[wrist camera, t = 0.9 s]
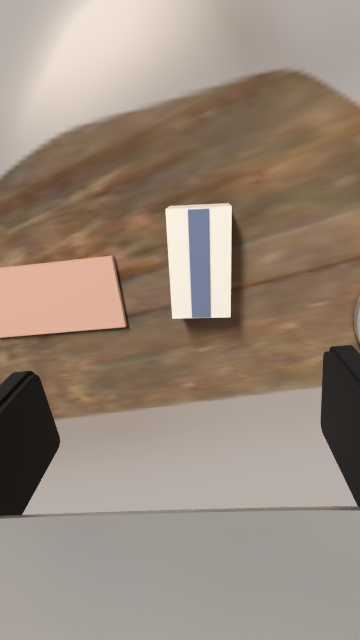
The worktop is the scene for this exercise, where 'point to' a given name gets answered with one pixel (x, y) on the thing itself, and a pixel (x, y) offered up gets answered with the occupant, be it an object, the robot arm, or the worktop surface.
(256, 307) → the worktop surface
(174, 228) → the card box
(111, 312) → the mat
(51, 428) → the robot arm
